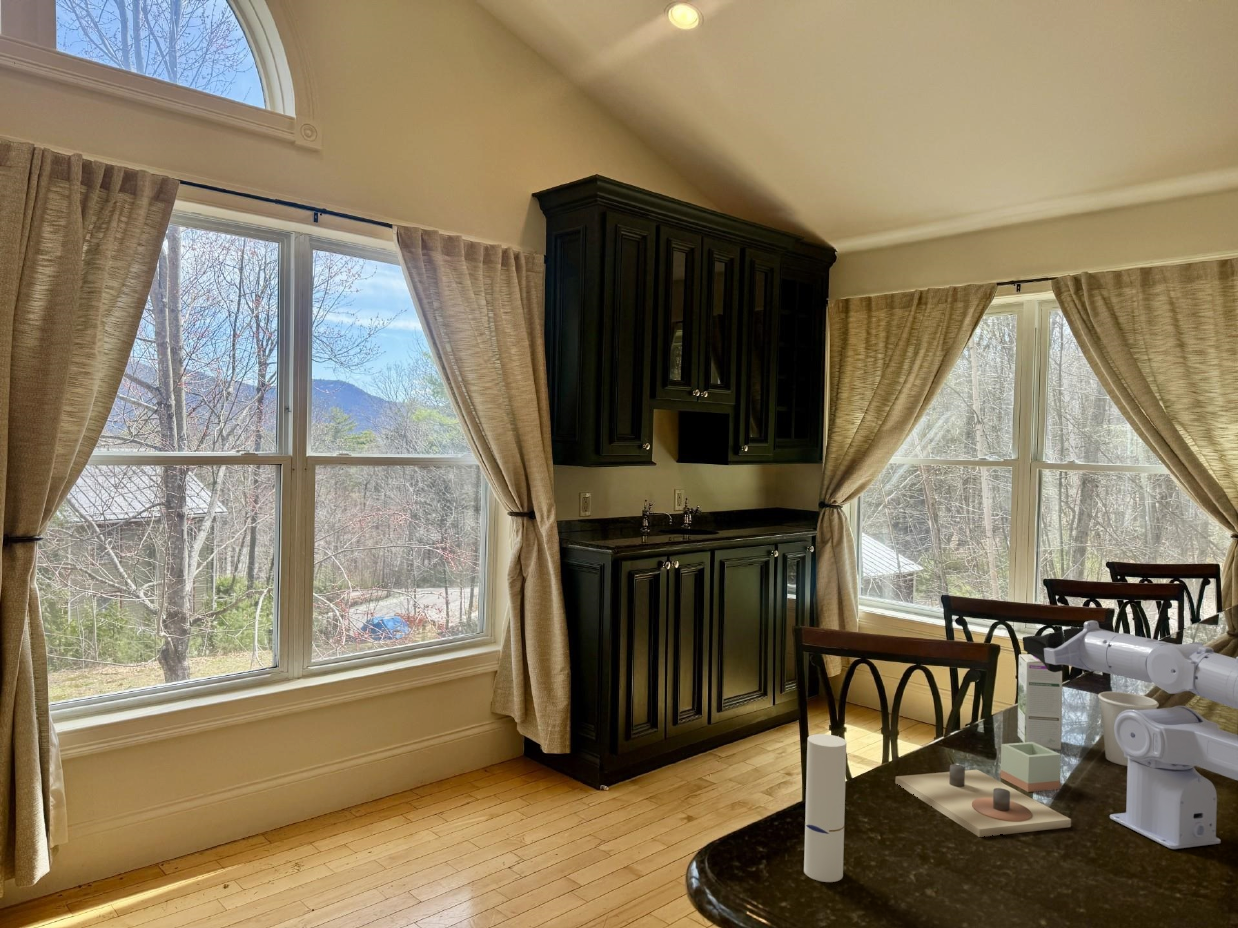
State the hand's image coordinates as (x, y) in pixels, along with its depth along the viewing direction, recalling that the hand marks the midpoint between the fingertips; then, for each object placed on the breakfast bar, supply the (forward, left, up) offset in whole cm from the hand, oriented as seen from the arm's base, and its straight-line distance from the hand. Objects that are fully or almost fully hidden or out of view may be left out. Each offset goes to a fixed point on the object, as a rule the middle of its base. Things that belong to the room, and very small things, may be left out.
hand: (1045, 639), depth 129 cm
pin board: (-8, +18, -21) cm, 28 cm away
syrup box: (+12, -10, -21) cm, 26 cm away
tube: (-21, +49, -21) cm, 57 cm away
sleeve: (-3, +5, -21) cm, 21 cm away
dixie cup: (+2, -18, -21) cm, 28 cm away
